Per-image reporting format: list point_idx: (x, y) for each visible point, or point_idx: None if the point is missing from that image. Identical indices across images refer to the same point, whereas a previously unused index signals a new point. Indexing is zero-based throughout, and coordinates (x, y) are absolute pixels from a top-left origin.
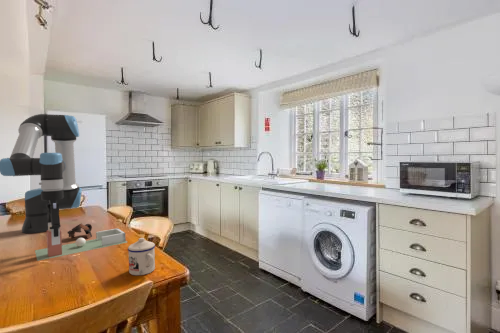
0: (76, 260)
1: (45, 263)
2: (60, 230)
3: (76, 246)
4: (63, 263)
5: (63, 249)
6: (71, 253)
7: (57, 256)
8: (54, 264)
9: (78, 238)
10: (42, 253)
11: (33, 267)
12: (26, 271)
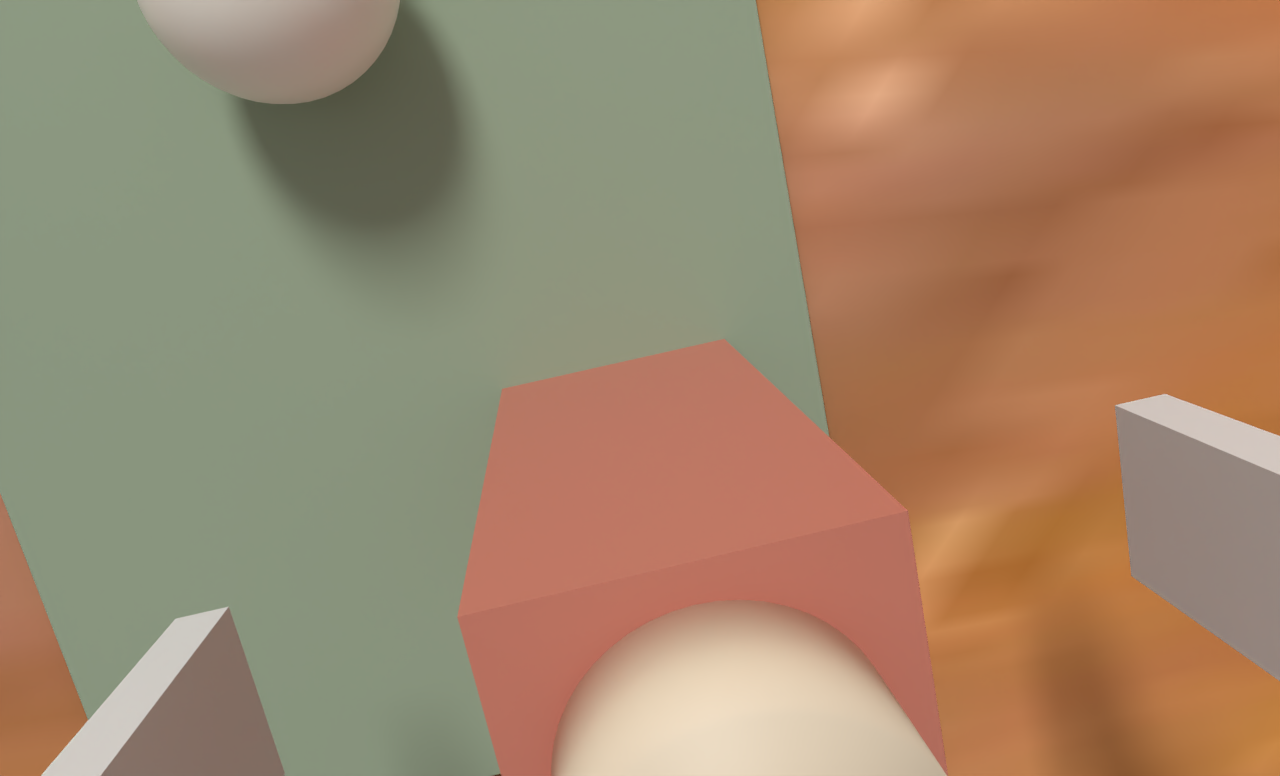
0: (1232, 44)
1: (1061, 537)
2: (841, 541)
3: None
4: (1251, 256)
5: (360, 352)
6: (764, 165)
7: (813, 403)
8: (1207, 392)
9: (241, 4)
10: (454, 690)
11: (1149, 668)
12: (1269, 719)
